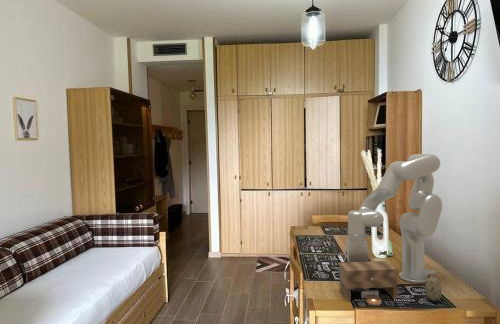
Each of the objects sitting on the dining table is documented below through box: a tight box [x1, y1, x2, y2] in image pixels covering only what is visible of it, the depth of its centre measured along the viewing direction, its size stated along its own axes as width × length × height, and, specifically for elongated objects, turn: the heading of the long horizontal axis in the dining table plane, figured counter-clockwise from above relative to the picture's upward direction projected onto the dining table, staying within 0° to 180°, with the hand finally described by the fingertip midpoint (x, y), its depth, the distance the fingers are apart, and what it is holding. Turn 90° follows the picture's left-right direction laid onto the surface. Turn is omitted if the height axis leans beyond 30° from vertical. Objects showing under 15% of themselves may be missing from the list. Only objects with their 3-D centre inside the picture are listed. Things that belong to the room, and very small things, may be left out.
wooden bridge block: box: [339, 260, 398, 301], centre depth 137 cm, size 21×11×12 cm, turn 91°
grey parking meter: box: [360, 288, 380, 299], centre depth 143 cm, size 7×19×12 cm, turn 0°
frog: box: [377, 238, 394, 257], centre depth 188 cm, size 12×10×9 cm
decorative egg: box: [424, 276, 443, 302], centre depth 130 cm, size 6×6×10 cm
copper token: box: [365, 295, 382, 306], centre depth 131 cm, size 6×6×2 cm
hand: (357, 275), depth 149 cm, fingers closed on grey parking meter
